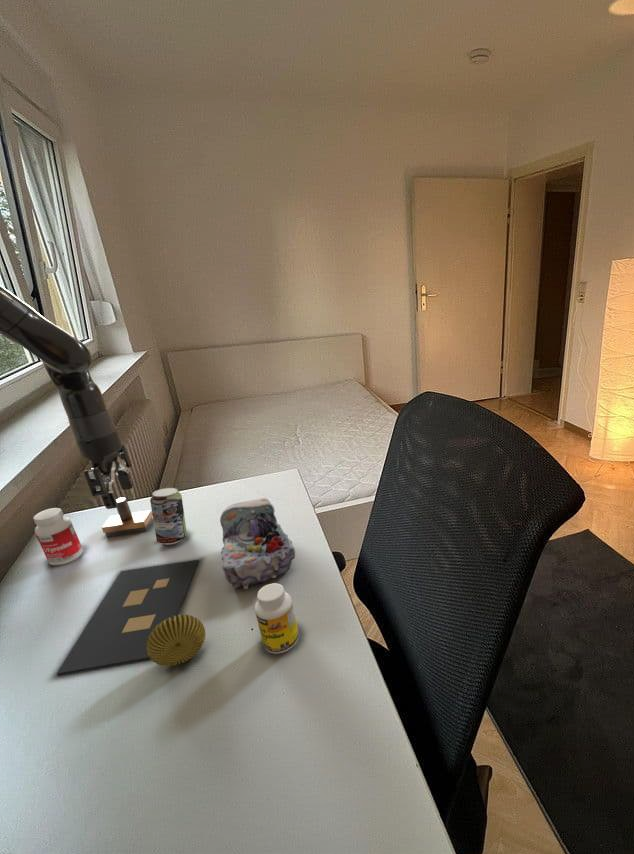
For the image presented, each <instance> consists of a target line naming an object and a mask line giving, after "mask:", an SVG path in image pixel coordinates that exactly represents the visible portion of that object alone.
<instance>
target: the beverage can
mask: <svg viewBox="0 0 634 854" xmlns="http://www.w3.org/2000/svg"><path fill="white" fill-rule="evenodd" d="M149 502H150V508H151V511H152V515H153V516H152V518H153V526H154V527H153V528H154V534H155V539H156V542H157V543H159V544H162V545H167V546H168V545H169V546H170V545H175V544H178V543H180V542H181V541H183V540H184V539H185V538H186V537H187V535H188V532H187V525H186V524H187V523H186V518H185V517H186V516H185V510H184V509H185V508H184V504H183V496H182V494H181V492H179V490H178V488H176V487H164V488H160V489H159V488H158V489H155V490H154V491H153V492H152V493H151V497H150V499H149Z"/></svg>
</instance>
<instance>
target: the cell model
mask: <svg viewBox="0 0 634 854" xmlns="http://www.w3.org/2000/svg"><path fill="white" fill-rule="evenodd" d="M275 512H276V510H275V506H274V505H273V504H272V503H271V502H270V500H269V499H268V498H266V497H262V498H256V499H251V500H247V501H242V502H236V503H233V504H229V505H228V506H227V507H225V509H224V510H223V511H222V513H221V515H220V518H219V523H220V526H221V529H222V543H223V546H222V547H221V552H220V553H221V562H222V565H221V568H222V570H223V571H224V576H225V579H226V581H227V582H228V583H229V585H231V587H232V588H234V589H237V588H240V587H242V589H244V590H248V588H249V587H250V586H254V585H258V584H263V583H266V582H268V581H269V580H270V579H274V578H276V577H279V576H281V575H283V574H285V573H286V572H288V571H289V570H290V568H291V567H292V566H291V565H292V561H293V560H294V559H295V558H296V550H295V547H294V546H293V541H292V540H291V539H290V538H289V537H288V534H286V532H284V529H283V528H282V526H281V524H279V523H278V520H277V517H276V514H275Z"/></svg>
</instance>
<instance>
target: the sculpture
mask: <svg viewBox="0 0 634 854" xmlns="http://www.w3.org/2000/svg"><path fill="white" fill-rule="evenodd" d="M205 640H206V628H205V626H204V624H203V622H202V621H201V620H200V619H199V618H197V617H195V616H194V615H190V614H178V615H177V619H176V616H173V620H172V618H171V617H169V618H168V619H165V620H164V621H162V622H160V623H159V624H158V625H157V626H156V627H155V628H154V629H153V630H152V632H151V633H150V635H149V637H148V640H147V653H148V655H149V657H150V659H149V660H151V661H152V662H154V663H155V664H157V665H160V666H164V667H172V666H177V665H181V663H182V664H185V662H188V661H190V660H191V659H192V658H194V657H195V656H196V655H197V654H198V653H199V652H200V651H201V649H202V647H203V645H204V644H205Z"/></svg>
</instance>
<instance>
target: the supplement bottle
mask: <svg viewBox="0 0 634 854" xmlns="http://www.w3.org/2000/svg"><path fill="white" fill-rule="evenodd" d="M256 597H257V601H256V603H255V604H254V611H255V612H254V613H255V617H256V621H257V626H258V629H259V633H260V637H261V641H262V644H263V648H264V649H265V650H266V651H267V652H268V653H271V654H282V653H285V652H288V651H289V650H291V649H293V648H294V647H295V645H296V644H297V642H298V640H299V628H298V623H297V618H296V613H295V607H294V603H293V598H292V597H291V595H290V594H289V593H288V592H286V591H285V588H284V586H283V585H282V584H280V583H277V582H272V583H268V584H265V585H264V586H262V587H261V588H260V589H259V590H258V592H257V595H256Z"/></svg>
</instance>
